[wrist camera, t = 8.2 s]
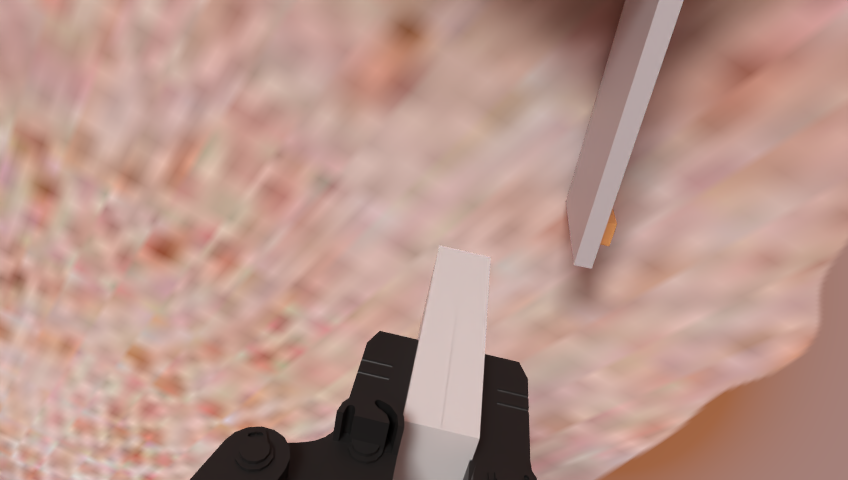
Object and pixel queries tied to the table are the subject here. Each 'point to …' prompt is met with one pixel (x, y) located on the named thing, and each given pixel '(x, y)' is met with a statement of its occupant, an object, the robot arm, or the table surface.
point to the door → (617, 122)
